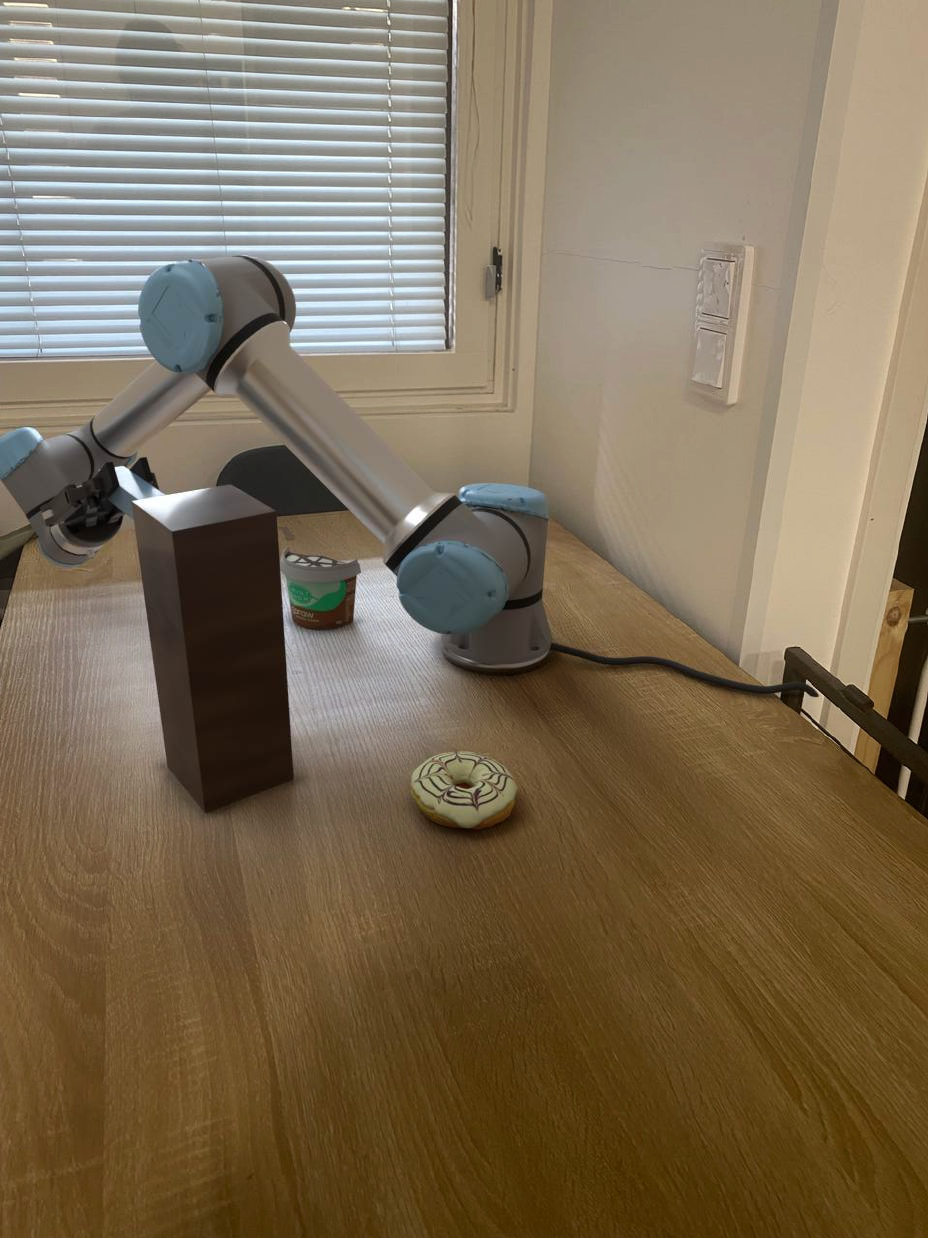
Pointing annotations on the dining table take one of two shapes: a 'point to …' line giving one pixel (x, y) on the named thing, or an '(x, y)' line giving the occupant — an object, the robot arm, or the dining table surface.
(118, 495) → the bar
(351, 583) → the food container
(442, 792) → the decorated donut
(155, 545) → the stand
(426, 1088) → the dining table surface
